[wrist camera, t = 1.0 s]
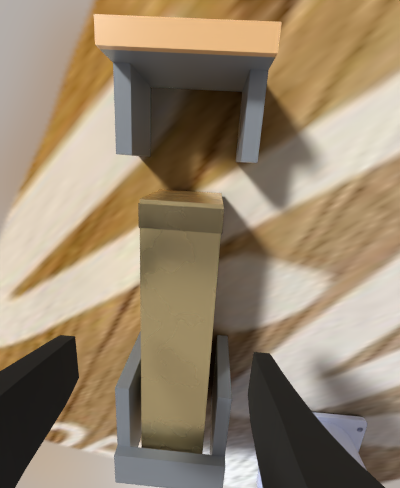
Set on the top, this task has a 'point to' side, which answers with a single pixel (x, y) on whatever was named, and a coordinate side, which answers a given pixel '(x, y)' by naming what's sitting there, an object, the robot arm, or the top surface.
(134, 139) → the socket
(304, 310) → the top surface
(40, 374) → the robot arm
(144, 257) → the tan rectangular post
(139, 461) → the sleeve
